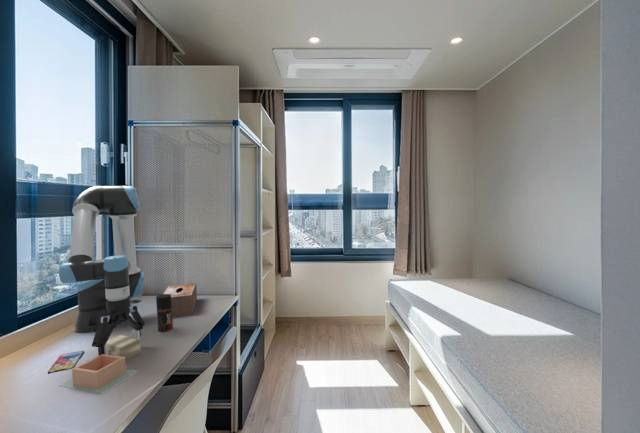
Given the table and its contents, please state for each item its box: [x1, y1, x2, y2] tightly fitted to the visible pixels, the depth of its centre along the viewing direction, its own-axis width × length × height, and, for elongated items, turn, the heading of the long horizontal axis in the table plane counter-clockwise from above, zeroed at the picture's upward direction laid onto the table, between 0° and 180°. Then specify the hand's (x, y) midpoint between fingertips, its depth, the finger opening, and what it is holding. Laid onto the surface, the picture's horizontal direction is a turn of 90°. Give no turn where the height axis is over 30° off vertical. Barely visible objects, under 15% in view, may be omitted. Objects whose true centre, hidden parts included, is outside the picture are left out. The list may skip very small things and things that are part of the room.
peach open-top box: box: [71, 354, 127, 389], centre depth 103 cm, size 10×10×5 cm
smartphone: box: [47, 350, 85, 375], centre depth 116 cm, size 7×1×15 cm
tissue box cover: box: [162, 282, 198, 318], centre depth 172 cm, size 26×14×10 cm, turn 16°
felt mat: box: [58, 368, 140, 395], centre depth 103 cm, size 18×13×1 cm
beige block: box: [105, 334, 142, 361], centre depth 120 cm, size 12×7×6 cm, turn 62°
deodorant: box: [155, 293, 174, 333], centre depth 143 cm, size 6×6×15 cm
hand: (121, 354), depth 120 cm, fingers open, 13 cm apart
